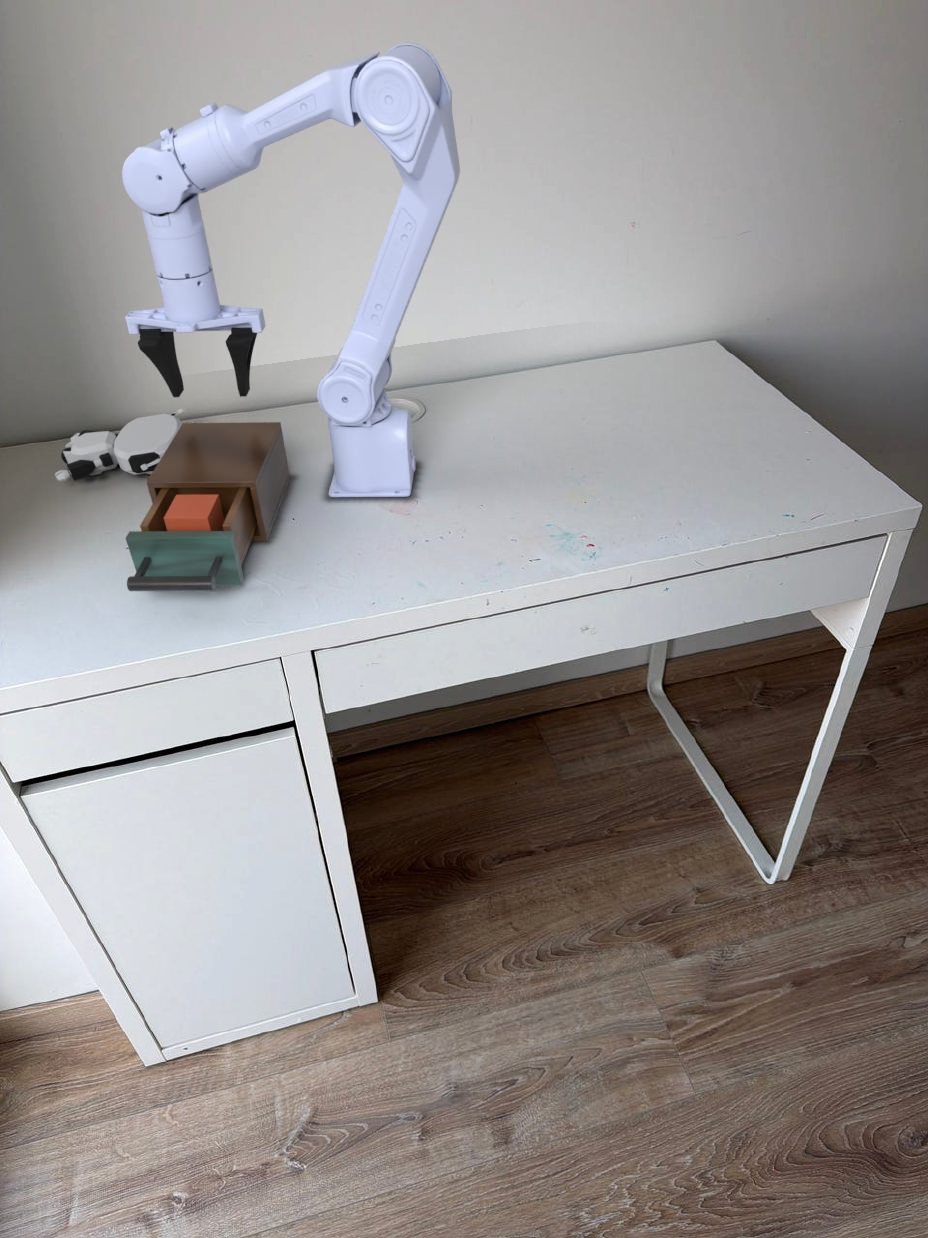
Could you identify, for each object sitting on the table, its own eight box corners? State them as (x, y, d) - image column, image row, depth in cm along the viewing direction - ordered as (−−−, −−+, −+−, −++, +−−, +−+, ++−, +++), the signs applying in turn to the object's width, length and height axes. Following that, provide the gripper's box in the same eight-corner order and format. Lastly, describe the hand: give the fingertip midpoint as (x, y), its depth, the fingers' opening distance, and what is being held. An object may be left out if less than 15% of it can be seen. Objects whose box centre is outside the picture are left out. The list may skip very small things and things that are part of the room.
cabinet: (267, 541, 95) (255, 481, 91) (163, 541, 96) (146, 482, 91) (290, 478, 106) (280, 421, 101) (196, 479, 106) (182, 422, 101)
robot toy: (60, 503, 104) (187, 482, 105) (44, 469, 101) (175, 448, 102) (80, 453, 114) (196, 435, 114) (66, 421, 111) (185, 402, 111)
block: (228, 535, 93) (218, 494, 90) (217, 559, 90) (207, 517, 86) (187, 535, 93) (176, 494, 90) (175, 559, 90) (163, 517, 87)
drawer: (229, 615, 84) (217, 566, 80) (124, 615, 85) (108, 566, 81) (267, 517, 97) (258, 472, 94) (176, 518, 98) (163, 473, 94)
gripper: (102, 284, 89) (137, 409, 98) (244, 282, 88) (267, 407, 97) (125, 262, 94) (157, 382, 103) (259, 260, 94) (280, 380, 102)
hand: (211, 393), depth 100 cm, fingers open, 7 cm apart
